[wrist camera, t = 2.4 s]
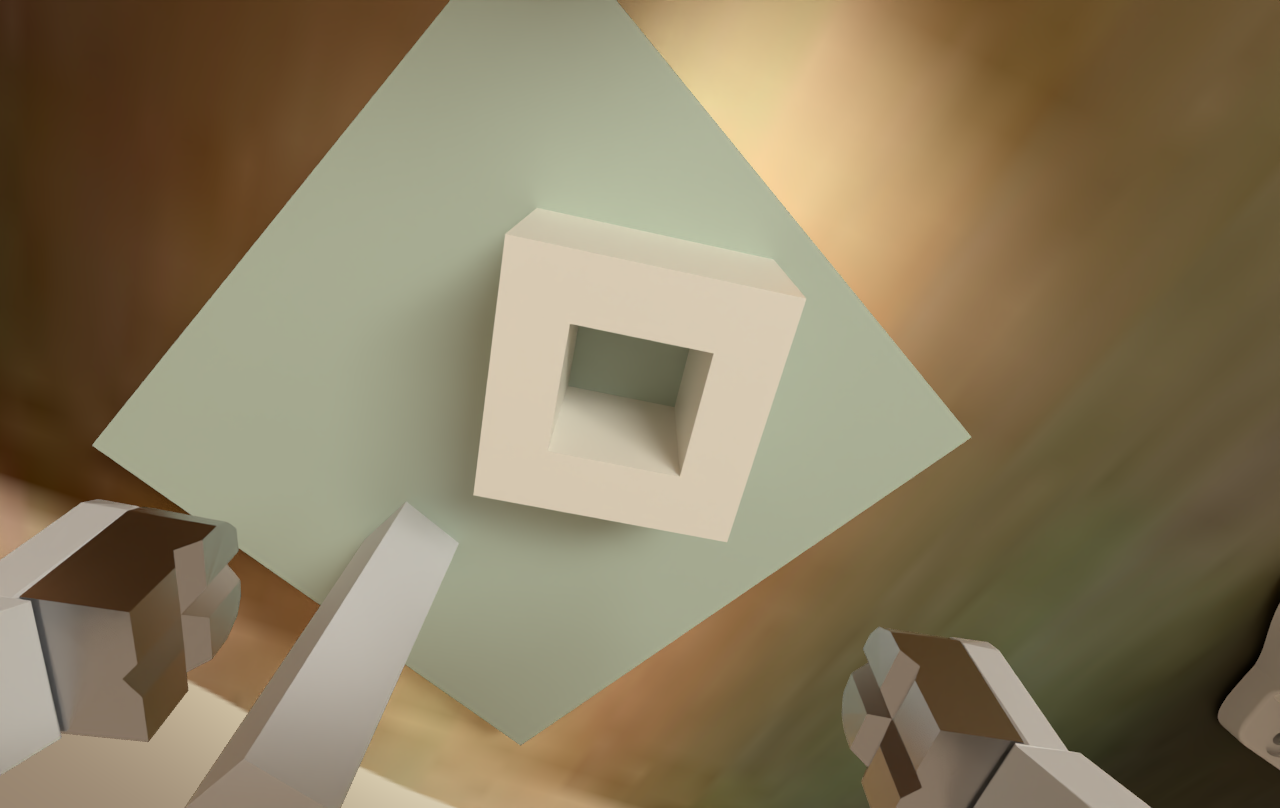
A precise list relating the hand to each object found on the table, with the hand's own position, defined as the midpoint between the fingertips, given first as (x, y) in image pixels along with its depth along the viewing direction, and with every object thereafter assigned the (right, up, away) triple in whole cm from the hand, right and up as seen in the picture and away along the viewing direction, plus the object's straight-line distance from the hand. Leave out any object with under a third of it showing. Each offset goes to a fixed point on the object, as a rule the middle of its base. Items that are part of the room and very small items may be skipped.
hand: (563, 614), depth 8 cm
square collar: (+1, +4, +10) cm, 11 cm away
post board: (-2, +2, +13) cm, 13 cm away
